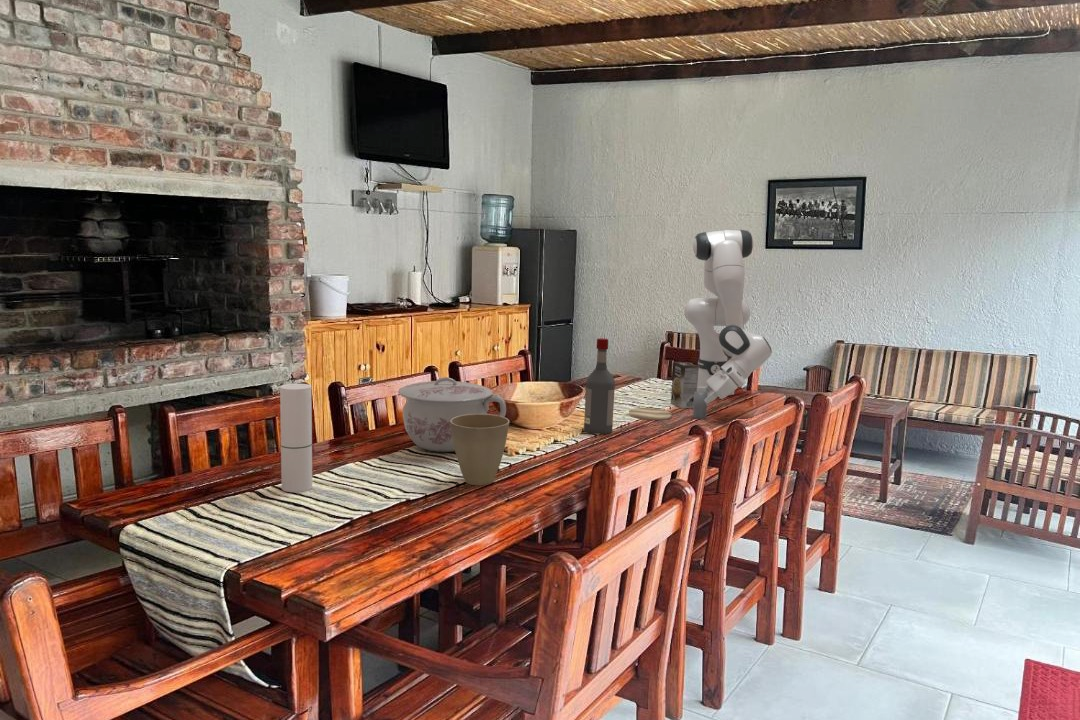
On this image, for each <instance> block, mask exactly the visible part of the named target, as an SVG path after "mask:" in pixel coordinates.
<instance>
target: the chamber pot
mask: <svg viewBox="0 0 1080 720" xmlns="http://www.w3.org/2000/svg"><path fill="white" fill-rule="evenodd" d="M397 393H398V395H400V396H401V397H403V398H405V399H406V401H405V403H404V405H403V407H402V419H403V424H404V428H405V431H406V433H407V434H408V436H409V437H410V439H411V441H412V442H413V443H414V445H416V447H418V448H419V449H420V448H421V449H423V450H426V451H427V452H428V451H429V452H434V453H456V452H455V448H454V443H453V438H452V431H451V423H450V420H451V419H452V418H454V417H457V416H461V415H468V414H488V411H489V407H490V405H489V404H490V403H493V402H496V403H498V404H499V407H500V408H499V409H500V413H499V415H498V416H502V417H505V416H506V414H507V413H506V412H507V403H506V401H505V400H504V398H503V397H502V396H501V395H499V394H498V393H494V394H493V390H492V389H491V388H489V387H487V386H484V385H481V384H476V383H472V382H467V381H456V380H455V379H453V378H451V377H449V376H448V377H446V376H443V377H440V378H438V379H437V380H430V381H429V380H428V381H420V382H415V383H411V384H408V385H407V384H406V385H404V386H402V387H400V388H398V390H397Z"/></svg>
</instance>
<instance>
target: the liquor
mask: <svg viewBox="0 0 1080 720" xmlns="http://www.w3.org/2000/svg"><path fill="white" fill-rule="evenodd" d="M596 349H597V352H596V353H597V354H596V364H595V368H594V369H593V370H592V372H590V374H589V375H588V376H587V378H586V382H585V399H584V400H585V401H584V418H583V420H584V422H583V429H584V432H585V431H586V433H589V434H595V433H600V434H601V435H607V434H608V435H609V434H611V433H612V432H613V426H614V425H613V424H614V405H615V388H616V387H615V386H616V384H615V383H616V380H615V378H614V377H613V375H612V373H611V372H610V371H609V370H608V368H607V367H608V365H607V355H608V354H607V353H608V352H607V351H608V349H609V338H603V337H602V338H601V337H600V338H597V339H596ZM600 434H599V435H600Z"/></svg>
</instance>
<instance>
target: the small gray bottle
mask: <svg viewBox="0 0 1080 720" xmlns="http://www.w3.org/2000/svg"><path fill="white" fill-rule="evenodd" d="M705 389H706V388H705V387H698V389H697V391H696V392H695V394H694V408H692V409H693V410H692V418H694V419H698V420H705V419H707V409H708V408H707V407H708V404H707V403H706V402H705V401H704V399H705V398H706V397H708V393H707V392H705Z"/></svg>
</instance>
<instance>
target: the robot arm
mask: <svg viewBox="0 0 1080 720" xmlns="http://www.w3.org/2000/svg"><path fill="white" fill-rule="evenodd" d="M753 249H754V239H753V235H752V234H751V232H750V231H748V230H745V229H740V230H739V229H738V230H736V229H734V230H733V229H722V230H716V231H715V230H714V231H709V232H706V231H703V232H700V233H697V234H696V235H695V236H694V240H693V243H692V250H693V253H694V256H695V257H696V258H697V260H699V261H704V265H703V267H704V268H703V285H704V288H705V289H706V290H707V291H709V292H710V293H711V294H713V295H715V296H716V297H717V298H716V297H715V298H714V297H695V298H690V299H689V300H688V301H687V302H686V304H685V306H684V309H683V310H684V311H683V312H684V317H685V319H686V320H687V322H689V324H691V325H692V326H693V327H694V329H695V330H696V332H697V334H698V338H699V357H698V361H697V366H699V371H698V384H697V389H698V387H705V388H706V389H705V392H707V393H708V397H706V398H705V399H704V401H705V402H706V403H707V405H708V404H710V403H711V402H712V401H714V400H716V399H717V398H719V399H721V400H723V399H725V398H727V397H728V396H732V395H733V396H734V395H735V391H736V390H737V389H738V387H739V388H742V386H744V385H745V381H746V380H747V378H749V376H750V375H751V373H753V372H754V371H756V370H758V369H759V368H760V367H762V365H764V363H766V361H768V360H769V358H770V357H771V355H772V353H773V352H772V348H771V346H770V344H769V342H768V340H767V339H766V338H765V337H764V336H763V335H762V334H756V333H752V332H749V331H748V330H746V329H745V326H744V325H746V324H747V322H748V321H749V320H750V316H751V310H750V309H751V308H750V307H749V305H748V303H747V302H746V301H744V299H743V296H744V290H745V289H744V288H745V264H744V259H745V258H748V257H750V255H751V254H752V252H753ZM716 326H717V327H723V328H722V329H721V331H720V333H718V332H717V331H716V330H715V327H716Z"/></svg>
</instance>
